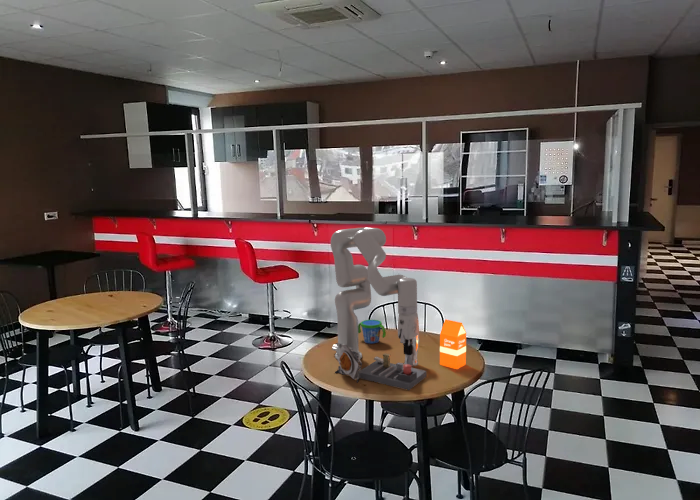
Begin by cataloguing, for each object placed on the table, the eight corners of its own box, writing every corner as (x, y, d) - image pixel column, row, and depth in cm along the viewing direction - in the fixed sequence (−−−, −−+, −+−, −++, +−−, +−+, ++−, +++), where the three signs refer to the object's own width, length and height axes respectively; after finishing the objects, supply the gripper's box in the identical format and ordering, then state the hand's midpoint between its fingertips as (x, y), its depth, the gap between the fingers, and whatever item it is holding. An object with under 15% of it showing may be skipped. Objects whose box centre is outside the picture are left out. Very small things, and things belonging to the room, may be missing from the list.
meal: (332, 373, 224) (332, 344, 222) (340, 370, 227) (340, 341, 225) (354, 384, 212) (354, 353, 210) (362, 381, 215) (362, 351, 213)
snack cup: (353, 341, 265) (352, 321, 264) (366, 336, 273) (366, 317, 272) (377, 347, 255) (377, 327, 254) (390, 342, 263) (390, 322, 261)
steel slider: (396, 371, 218) (396, 363, 218) (398, 369, 220) (398, 362, 219) (402, 372, 216) (402, 365, 216) (404, 371, 218) (404, 363, 217)
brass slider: (382, 367, 223) (382, 354, 222) (384, 365, 224) (384, 353, 223) (388, 368, 221) (388, 355, 220) (390, 366, 223) (390, 354, 222)
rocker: (373, 359, 228) (374, 357, 228) (376, 358, 230) (376, 356, 230) (385, 364, 225) (385, 362, 225) (387, 363, 227) (388, 361, 227)
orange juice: (456, 369, 226) (457, 324, 223) (439, 364, 232) (439, 321, 229) (466, 364, 232) (466, 320, 229) (448, 359, 238) (449, 317, 235)
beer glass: (409, 368, 229) (409, 335, 226) (400, 362, 235) (400, 330, 232) (422, 365, 232) (422, 332, 229) (413, 360, 238) (413, 328, 236)
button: (401, 374, 210) (401, 366, 209) (405, 371, 213) (405, 363, 212) (409, 376, 208) (409, 367, 208) (412, 373, 211) (412, 365, 210)
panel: (357, 377, 219) (357, 366, 218) (377, 365, 232) (377, 354, 231) (408, 390, 206) (408, 378, 205) (426, 376, 219) (426, 365, 218)
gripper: (407, 314, 198) (407, 361, 200) (424, 306, 210) (424, 350, 213) (389, 312, 202) (390, 358, 205) (407, 304, 214) (408, 347, 217)
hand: (408, 354), depth 209 cm, fingers closed
